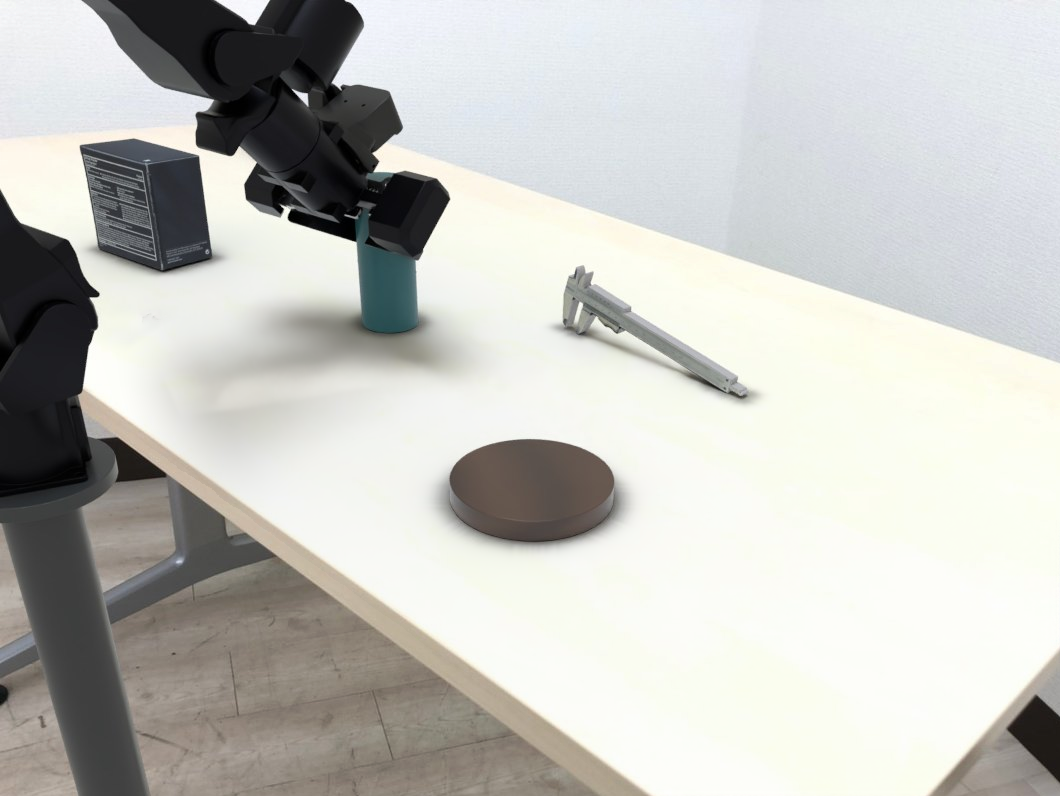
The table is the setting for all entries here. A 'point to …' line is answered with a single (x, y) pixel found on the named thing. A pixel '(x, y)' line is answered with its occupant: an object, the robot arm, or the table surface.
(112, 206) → the small box
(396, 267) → the cylinder
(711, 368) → the caliper
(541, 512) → the walnut chip
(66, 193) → the table surface
